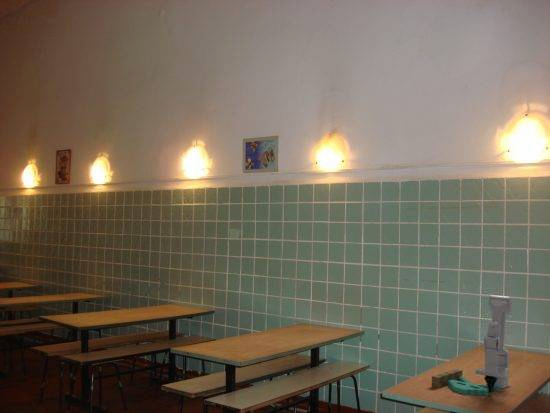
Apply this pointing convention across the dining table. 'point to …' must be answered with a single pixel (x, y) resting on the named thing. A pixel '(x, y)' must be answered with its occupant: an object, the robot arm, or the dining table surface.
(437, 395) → the dining table surface
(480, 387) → the alien figure
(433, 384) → the walnut board
